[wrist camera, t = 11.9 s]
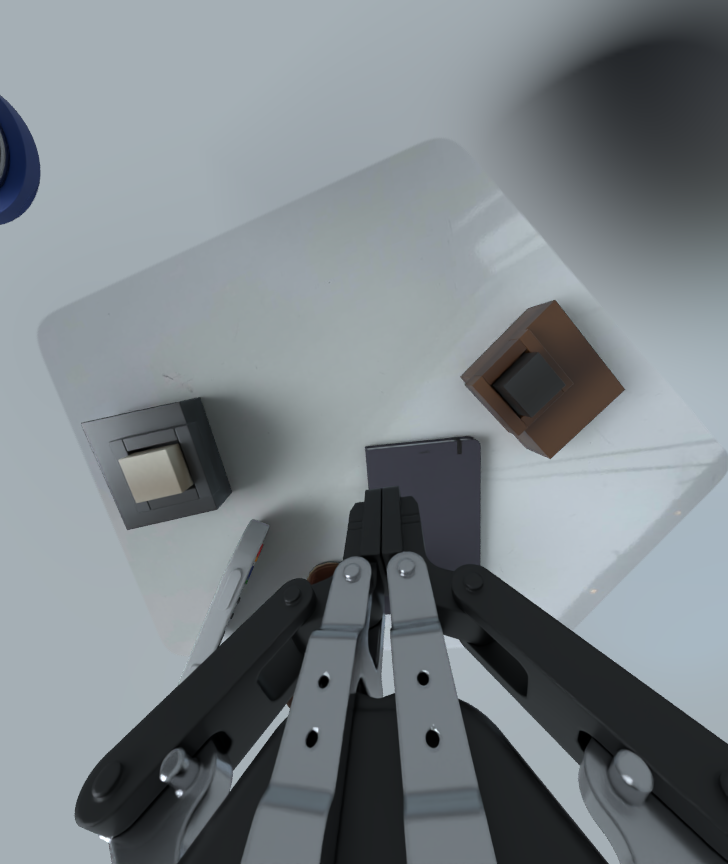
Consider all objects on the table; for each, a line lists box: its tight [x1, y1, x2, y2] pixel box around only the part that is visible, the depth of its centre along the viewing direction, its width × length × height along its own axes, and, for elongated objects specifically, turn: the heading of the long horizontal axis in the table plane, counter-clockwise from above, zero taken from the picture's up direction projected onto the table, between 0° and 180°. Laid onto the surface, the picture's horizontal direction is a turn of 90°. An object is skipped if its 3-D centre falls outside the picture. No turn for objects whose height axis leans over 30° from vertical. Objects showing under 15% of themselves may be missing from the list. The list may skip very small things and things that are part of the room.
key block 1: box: [81, 397, 232, 530], centre depth 30 cm, size 11×10×6 cm
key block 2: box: [461, 300, 625, 459], centre depth 31 cm, size 12×11×6 cm
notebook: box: [365, 436, 481, 615], centre depth 36 cm, size 13×2×21 cm
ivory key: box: [118, 443, 193, 503], centre depth 26 cm, size 4×4×2 cm
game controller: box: [178, 519, 269, 685], centre depth 32 cm, size 20×2×8 cm, turn 155°
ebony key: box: [492, 352, 565, 418], centre depth 27 cm, size 4×4×2 cm
